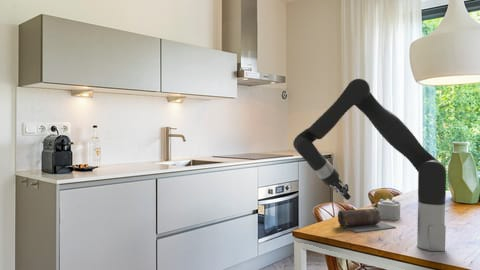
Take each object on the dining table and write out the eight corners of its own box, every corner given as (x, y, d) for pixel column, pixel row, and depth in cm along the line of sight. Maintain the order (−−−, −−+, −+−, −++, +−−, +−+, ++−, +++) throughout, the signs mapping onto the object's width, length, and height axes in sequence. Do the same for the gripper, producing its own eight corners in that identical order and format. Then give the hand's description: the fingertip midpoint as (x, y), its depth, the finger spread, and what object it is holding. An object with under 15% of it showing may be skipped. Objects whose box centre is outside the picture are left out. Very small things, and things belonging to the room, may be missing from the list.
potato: (371, 206, 219) (371, 189, 219) (374, 202, 230) (375, 186, 230) (390, 208, 214) (390, 190, 214) (393, 204, 225) (393, 187, 225)
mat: (356, 232, 164) (356, 231, 164) (339, 225, 175) (339, 224, 175) (395, 228, 173) (395, 226, 173) (376, 221, 184) (376, 220, 184)
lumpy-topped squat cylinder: (375, 217, 192) (376, 200, 192) (381, 213, 203) (381, 196, 203) (397, 220, 187) (398, 203, 186) (402, 215, 198) (402, 198, 197)
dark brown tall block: (333, 216, 176) (370, 214, 183) (339, 230, 172) (377, 227, 178) (340, 207, 171) (377, 204, 177) (346, 221, 166) (384, 218, 173)
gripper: (340, 167, 159) (363, 194, 164) (322, 164, 172) (344, 189, 177) (329, 180, 157) (353, 207, 162) (312, 176, 170) (334, 201, 175)
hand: (348, 198), depth 169 cm, fingers closed
